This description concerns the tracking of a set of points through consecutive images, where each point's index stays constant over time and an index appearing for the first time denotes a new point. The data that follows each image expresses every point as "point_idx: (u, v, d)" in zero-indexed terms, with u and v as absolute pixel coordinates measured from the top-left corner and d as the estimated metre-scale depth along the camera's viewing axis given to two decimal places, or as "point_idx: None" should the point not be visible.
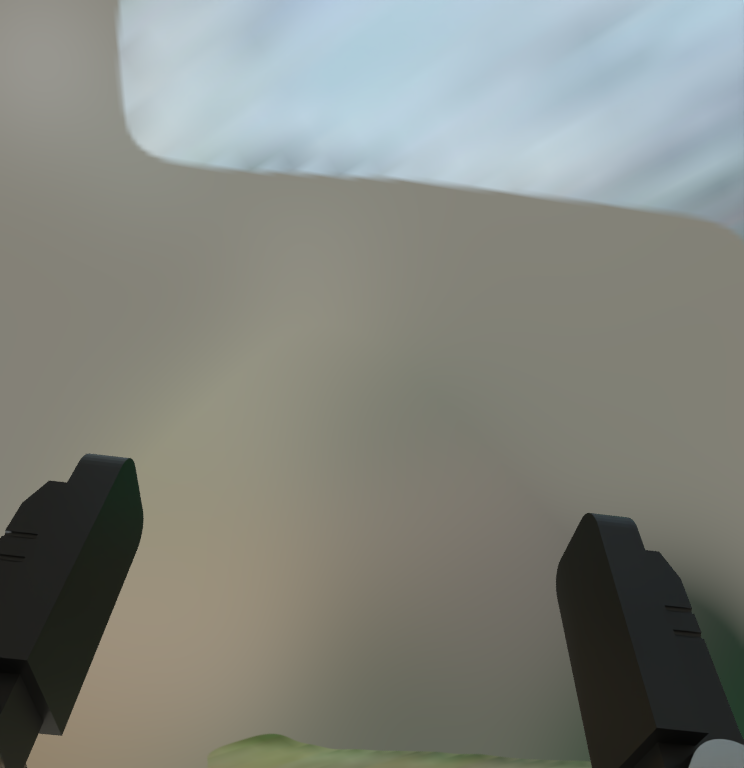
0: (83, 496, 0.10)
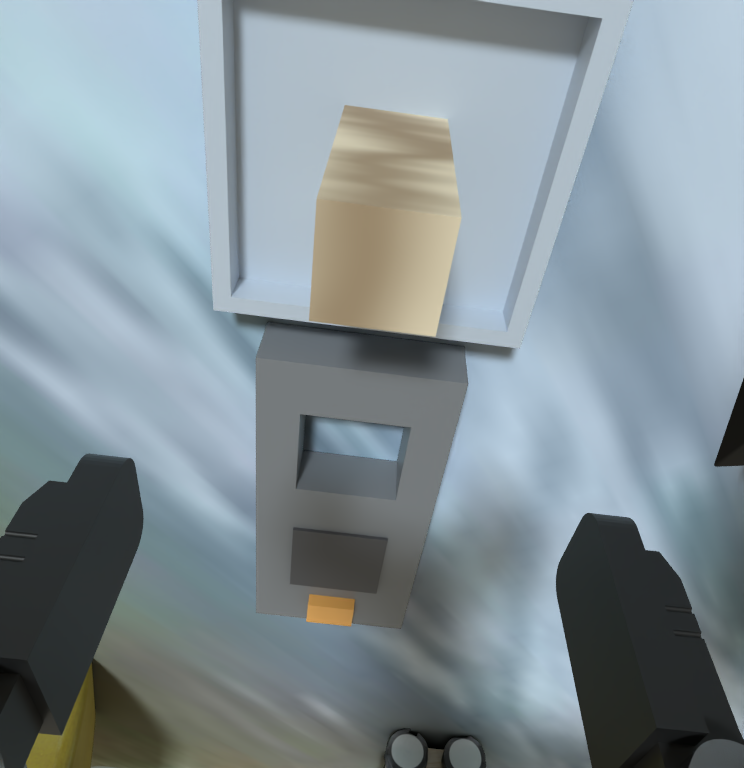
0: (83, 496, 0.10)
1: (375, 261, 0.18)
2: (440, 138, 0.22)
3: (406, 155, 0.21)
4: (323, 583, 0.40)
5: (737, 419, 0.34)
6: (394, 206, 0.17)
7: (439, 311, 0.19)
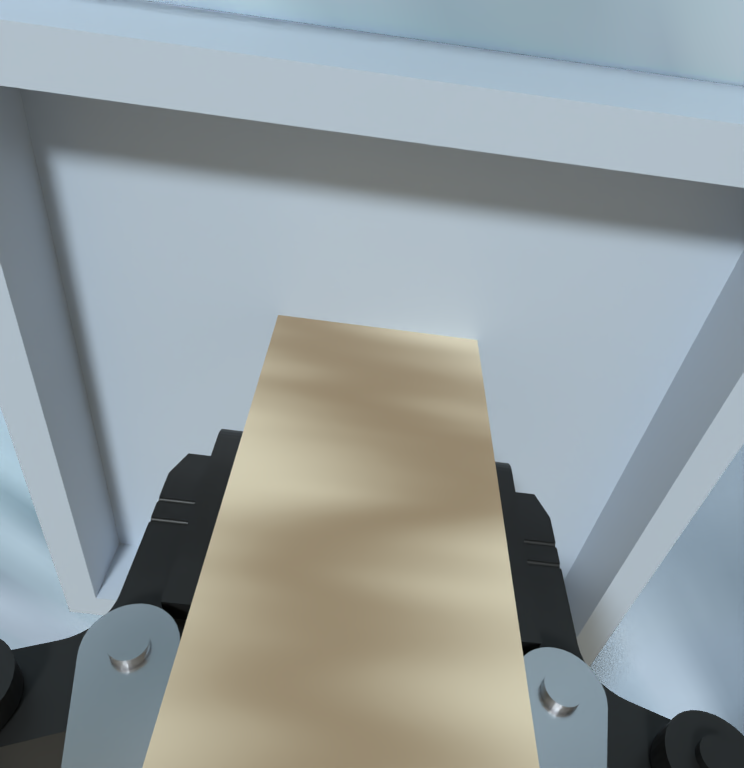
0: (228, 466, 0.10)
1: None
2: (467, 419, 0.11)
3: (395, 513, 0.09)
4: None
5: None
6: None
7: None
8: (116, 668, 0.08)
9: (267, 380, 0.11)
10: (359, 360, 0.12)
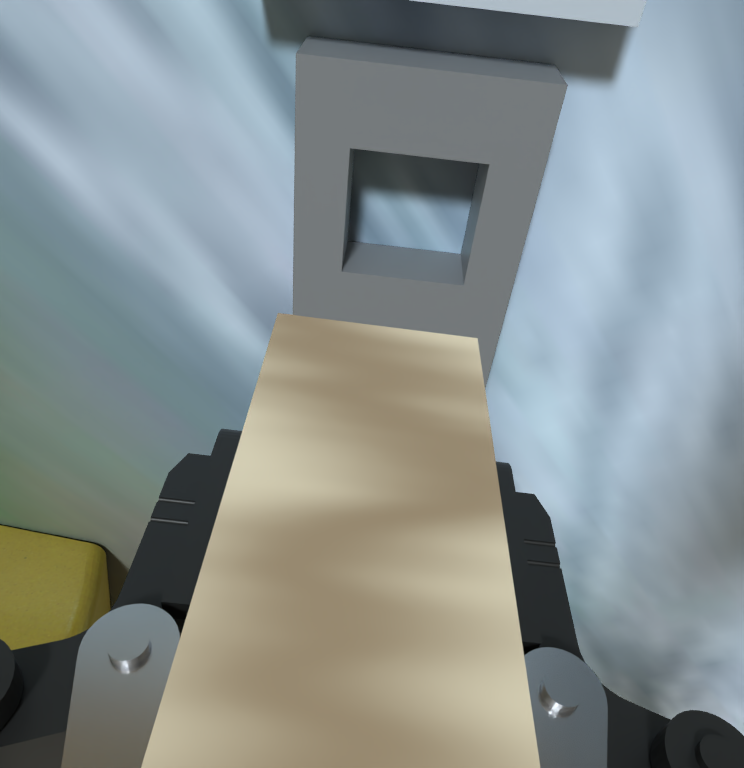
0: (228, 466, 0.10)
1: None
2: (468, 417, 0.11)
3: (396, 511, 0.09)
4: None
5: None
6: None
7: None
8: (116, 668, 0.08)
9: (267, 378, 0.11)
10: (359, 358, 0.12)
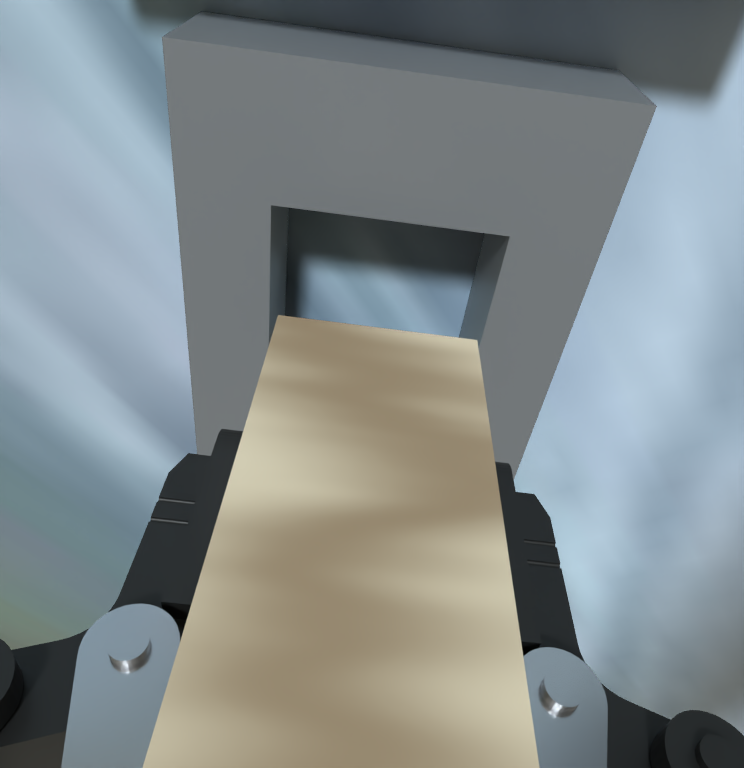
0: (228, 465, 0.10)
1: None
2: (467, 419, 0.11)
3: (395, 513, 0.09)
4: None
5: None
6: None
7: None
8: (116, 668, 0.08)
9: (267, 380, 0.11)
10: (359, 360, 0.12)
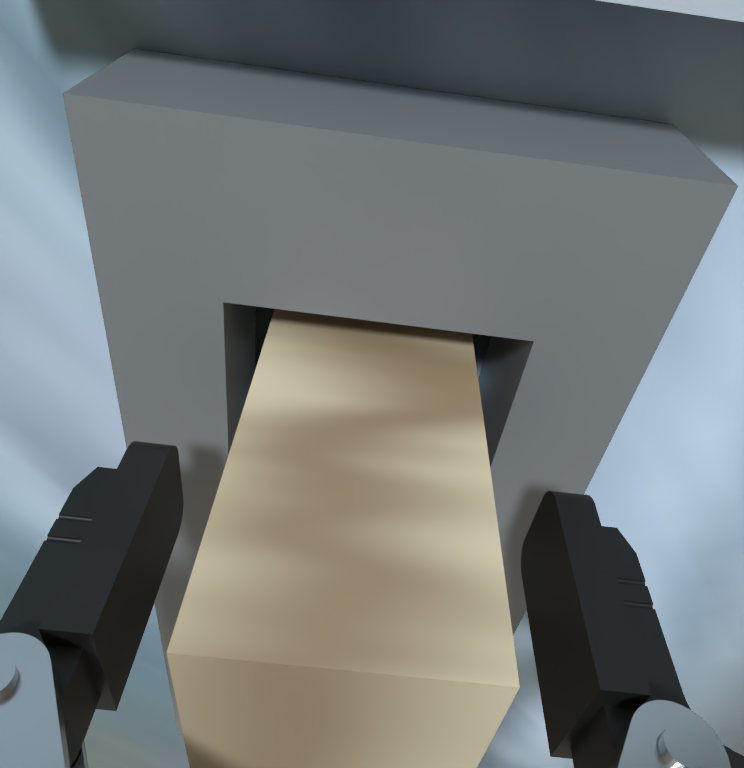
0: (133, 481, 0.10)
1: (320, 731, 0.08)
2: (455, 346, 0.12)
3: (391, 415, 0.10)
4: None
5: None
6: (358, 657, 0.07)
7: None
8: None
9: (280, 316, 0.12)
10: None
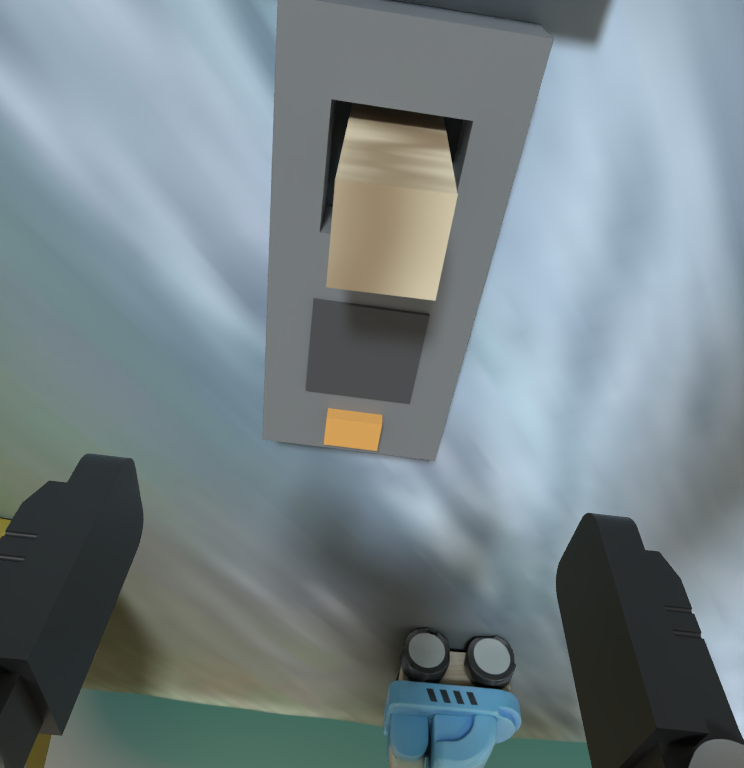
0: (83, 496, 0.10)
1: (384, 234, 0.21)
2: (437, 130, 0.26)
3: (408, 144, 0.24)
4: (346, 388, 0.33)
5: None
6: (401, 185, 0.20)
7: (438, 278, 0.22)
8: None
9: (353, 116, 0.26)
10: (390, 115, 0.26)
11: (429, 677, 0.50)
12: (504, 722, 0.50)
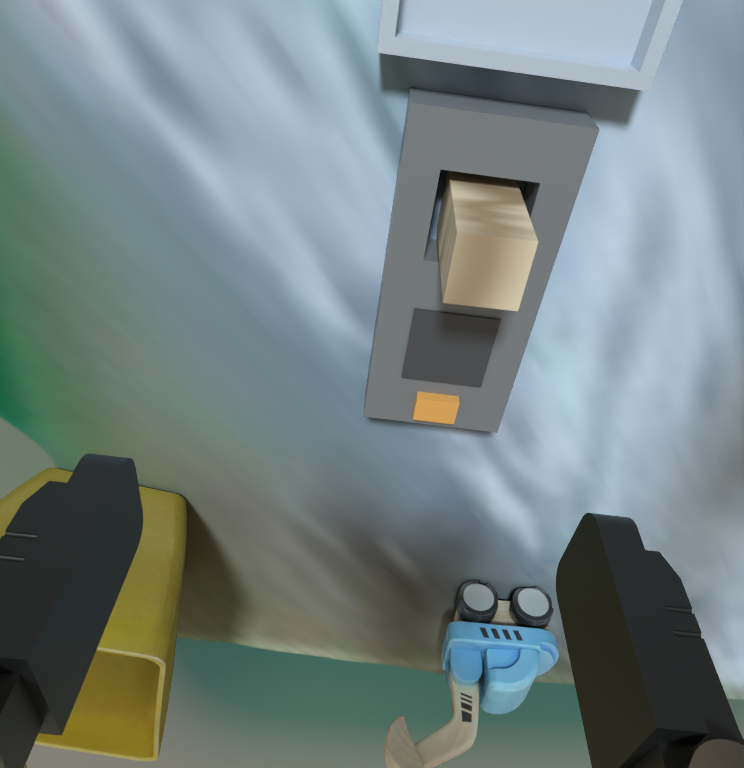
0: (83, 496, 0.10)
1: (486, 267, 0.32)
2: (513, 188, 0.36)
3: (496, 202, 0.34)
4: (433, 375, 0.43)
5: None
6: (500, 236, 0.31)
7: (521, 295, 0.32)
8: None
9: (452, 179, 0.36)
10: (477, 176, 0.37)
11: (482, 618, 0.61)
12: (544, 655, 0.60)
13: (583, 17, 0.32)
